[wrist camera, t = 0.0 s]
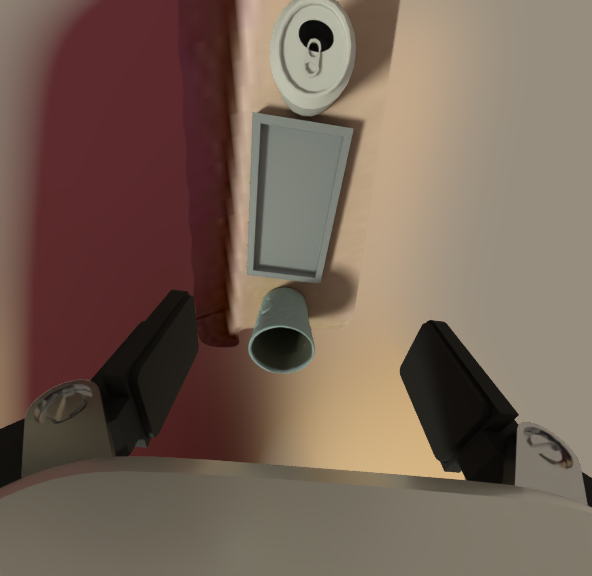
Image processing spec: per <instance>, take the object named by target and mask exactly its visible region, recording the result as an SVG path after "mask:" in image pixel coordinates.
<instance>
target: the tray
mask: <svg viewBox="0 0 592 576" xmlns="http://www.w3.org/2000/svg"><path fill="white" fill-rule="evenodd" d="M353 130H354V129H353V128H347V127H341V126H335V125H329V124H323V123H316V122H310V121H304V120H298V119H292V118H286V117H280V116H273V115H267V114H261V113H255V112H253V118H252V146H251V173H250V201H249V229H248V257H247V275H252V276H260V277H268V278H277V279H285V280H293V281H301V282H309V283H317V284H320V283H321V278H322V273H323V269H324V264H325V259H326V255H327V250H328V246H329V241H330V236H331V232H332V227H333V222H334V218H335V213H336V209H337V204H338V199H339V195H340V190H341V185H342V181H343V176H344V172H345V167H346V162H347V158H348V153H349V148H350V144H351V139H352V134H353Z"/></svg>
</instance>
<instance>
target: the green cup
mask: <svg viewBox="0 0 592 576" xmlns="http://www.w3.org/2000/svg"><path fill="white" fill-rule="evenodd" d="M308 319H309V317H308V310H307V305H306V301H305V299H304V297H303V296H302V295H301V294H300V292H298V291H296V290H294V289H292V288H288V287H287V288H286V287H282V288H277V289H274V290H271V291H270V292H268V293H267V295H266V296H265V297H264V299H263V301H262V304H261V308H260V311H259V314H258V317H257V320H256V324H255V328H254V330H253V333H252V336H251V339H250V342H249V354H250V356H251V358H252V360H253V361H254V362H255V363H256V364H257V365H259V366H260V367H261V368H263V369H265V370H267V371H270V372H274V373H292V372H296V371H298V370H301V369H302V368H304V367H305V366H307V365H308V364H309V363H310V362H311V360H312V359H313V357H314V353H315V347H314V342H313V337H312V333H311V327H310V324H309V320H308Z"/></svg>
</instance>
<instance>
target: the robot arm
mask: <svg viewBox="0 0 592 576" xmlns="http://www.w3.org/2000/svg"><path fill="white" fill-rule="evenodd" d="M197 352H198V336H197V326H196V315H195V305H194V297H193V296H190V295H189V293H188V292H187V291H180V290H171V291H170V292H169V293H168V295H167V296H166V297H165V298H164V299H163V300H162V302H161V303H160V304H159V305H158V306H157V308H156V309H155V310H154V311H153V312H152V314H151V315H150V316H149V317H148V318H147V319H146V321H143V322H141V323H140V324H139V325H138V326H137V327H136V328H135V330H134V331H133V332H132V333H131V334H130V335H129V336H128V338H127V339H126V340H125V341H124V342H123V343H122V345H121V346H120V347H119V348H118V349H117V350H116V352H115V353H114V354H113V355H112V356H111V357H110V359H109V360H108V361H107V362H106V363H105V364H104V365H103V367H102V368H101V369H100V370H99V371H98V372H97V374H96V375H95V376H94V377H93V378H92V379H91V380H90V381H89V380H74V381H69V382H66V383H63V384H60V385H58V386H56V387H54V388H51V389H50V390H48V391H47V392H46V393H44V394H42V395H41V396H40V397H39V398H38V399H36V400H35V401H34V402H33V403H32V405H31V406H30V408H29V409H28V411H27V413H26V416H25V418H24V419H22V420H20V421H17V422H15V423H13V424H11V425H8V426H6V427H4V428H2V429H0V576H592V478H591V477H589V476H588V475H586V474H585V473H583V472H582V471H581V466H580V463H579V461H578V458H577V457H576V455H575V454H574V452H573V451H572V450H571V449H570V448H569V447H568V446H567V445H566V444H565V442H564V441H562V440H561V439H560V438H559V437H558V436H556V435H555V434H554V433H552V432H550V431H549V430H547V429H546V428H544V427H542V426H540V425H538V424H534V423H531V422H522V423H520V424H519V425H518V424H517V423H516V421H515V420H514V419H515V418H516V417H517V416H518V415H519V414H518V413H517V412H516V410H515V409H514V408H513V407H512V405H511V404H510V403H509V402H508V400H507V399H506V398H505V397H504V395H503V394H502V393H501V392H500V390H498V388H497V387H496V385H495V384H494V383H493V382H492V380H491V379H490V378H489V376H488V375H487V374H486V373H485V372H484V370H483V369H482V368H481V366H480V365H479V364H478V363H477V361H476V360H475V359H474V358H473V356H472V355H471V354H470V352H469V351H468V350H467V349H466V347H465V346H464V345H463V344H462V343H461V341H460V340H459V339H458V338H457V336H456V335H455V334H454V332H453V331H452V330H451V329H450V327H449V326H448V325H447V324H446V323H445V322H441V321H433V320H429V321H427V322H426V323H424V324H423V325H422V326H421V328H420V330H419V332H418V334H417V336H416V338H415V340H414V342H413V344H412V346H411V348H410V350H409V351H408V353H407V355H406V357H405V359H404V361H403V363H402V365H401V367H400V375H401V378H402V380H403V383H404V385H405V387H406V390H407V392H408V394H409V397H410V399H411V401H412V404H413V406H414V409H415V411H416V413H417V416H418V418H419V420H420V423H421V425H422V427H423V430H424V432H425V435H426V437H427V439H428V441H429V444H430V446H431V449H432V451H433V453H434V455H435V457H436V459H438V460H439V461H440V462H441V464H442V467H443V469H444V471H445V472H457V473H459V472H461V471H462V472H463V474H464V476H465V480H455V479H444V478H432V477H420V476H408V475H397V474H384V473H372V472H359V471H347V470H334V469H322V468H309V467H296V466H283V465H270V464H256V463H242V462H229V461H215V460H201V459H183V458H164V457H127V456H128V455H130V454H131V452H132V451H133V449H134V447H135V446H136V447H147V446H148V444H149V442H150V440H151V438H152V437H156V436H157V435H158V434H159V432H160V430H161V428H162V426H163V424H164V422H165V420H166V418H167V416H168V414H169V412H170V409H171V407H172V405H173V403H174V401H175V399H176V397H177V395H178V393H179V391H180V388H181V386H182V384H183V382H184V380H185V378H186V376H187V374H188V372H189V369H190V367H191V365H192V363H193V361H194V359H195V357H196V355H197Z"/></svg>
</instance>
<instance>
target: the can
mask: <svg viewBox="0 0 592 576" xmlns="http://www.w3.org/2000/svg"><path fill="white" fill-rule="evenodd" d="M355 56H356V42H355V32H354V29H353V27H352V24H351V21H350V19H349V16H348V14H347V13H346V12H345V10H344V9H343V8H342V6H341V5H340V4H339V3H338V2H337V1H336V0H293V1H292V2H291V3H290V4H289V5H288V6H287V7H285V8H284V9H283V11H282V13H281V14H280V16H279V18H278V20H277V22H276V24H275V25H274V29H273V33H272V37H271V41H270V65H271V69H272V73H273V77H274V80H275V83H276V85H277V87H278V90H279V92H280V94H281V96H282V98H283V100H284V102H285V104H286V105H287V106H288V107H289V108H290V109H291V110H292V111H293V112H295V113H297V114H299V115H301V116H309V117H312V116H315V115H318V114H321V113H322V112H323V111H325V110H326V109H327V108H328V107H329V106H330V105H331V104H332V103H333V102H334V101H335V100H336V99H337V98H338V97H339V95H340V94H341V93H342V91H343V90H344V89H345V87H346V86H347V84H348V82H349V79H350V77H351V74H352V72H353V69H354V64H355Z"/></svg>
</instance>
